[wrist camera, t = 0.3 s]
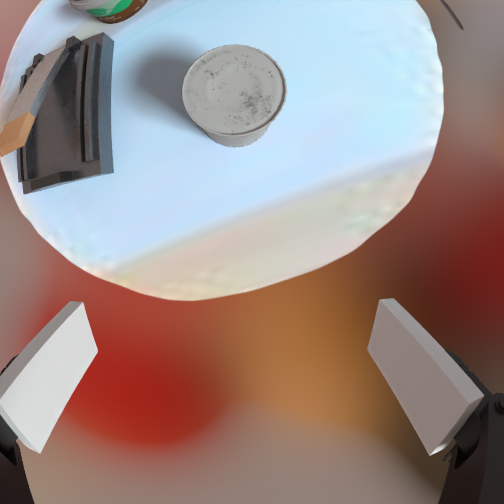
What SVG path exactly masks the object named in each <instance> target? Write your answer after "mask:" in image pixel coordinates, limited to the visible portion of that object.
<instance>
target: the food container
mask: <svg viewBox="0 0 504 504" xmlns="http://www.w3.org/2000/svg"><path fill="white" fill-rule="evenodd" d="M69 2H70V4H71V5H72V7H74V8H75V9H78V10H86V11H87V12H89V13H90V14H92V15H93V16H95V17H96V18H98V19H99V20H101V21H102V22H104V23H108V24H113V23H118V22H121V21H124V20H126V19H128V18H130V17H131V16H133V15H134V14H136V13H137V12H138V11H139V10H140V9H141V8H142V7H143V6H144V5H145V4H146V2H147V0H69Z"/></svg>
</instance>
